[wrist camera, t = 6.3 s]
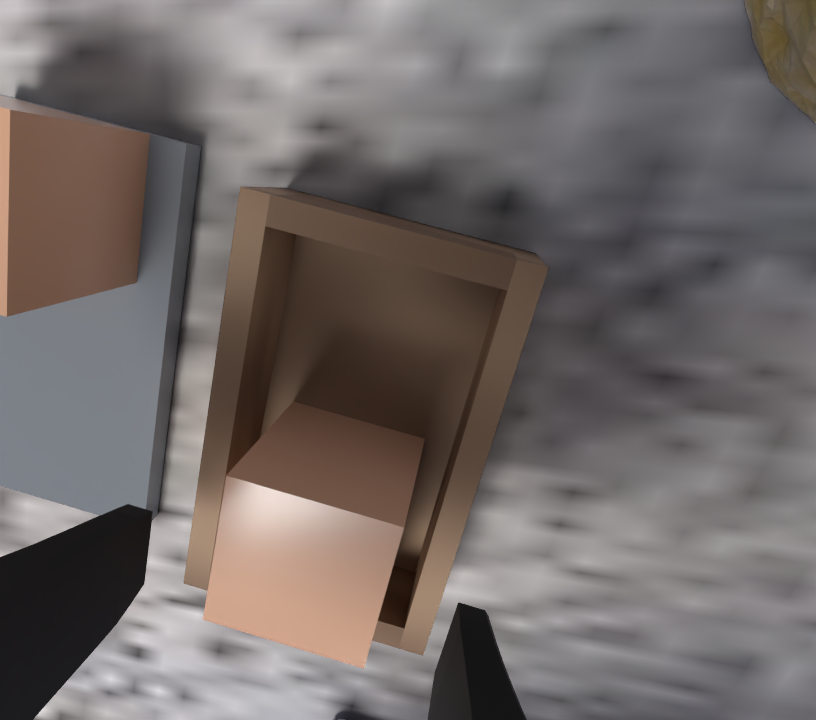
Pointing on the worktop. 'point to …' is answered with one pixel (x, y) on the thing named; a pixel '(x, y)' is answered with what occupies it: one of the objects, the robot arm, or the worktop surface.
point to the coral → (787, 47)
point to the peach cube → (312, 532)
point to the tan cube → (66, 205)
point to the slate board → (103, 364)
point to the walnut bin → (368, 364)
